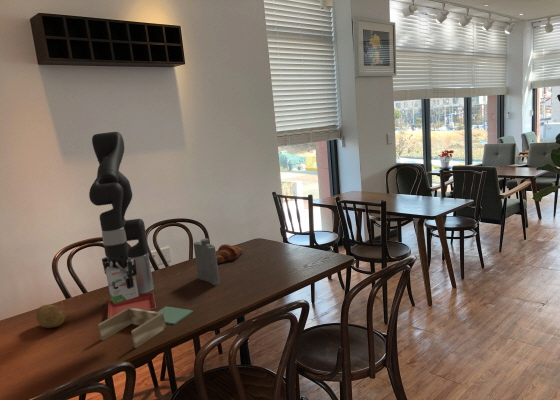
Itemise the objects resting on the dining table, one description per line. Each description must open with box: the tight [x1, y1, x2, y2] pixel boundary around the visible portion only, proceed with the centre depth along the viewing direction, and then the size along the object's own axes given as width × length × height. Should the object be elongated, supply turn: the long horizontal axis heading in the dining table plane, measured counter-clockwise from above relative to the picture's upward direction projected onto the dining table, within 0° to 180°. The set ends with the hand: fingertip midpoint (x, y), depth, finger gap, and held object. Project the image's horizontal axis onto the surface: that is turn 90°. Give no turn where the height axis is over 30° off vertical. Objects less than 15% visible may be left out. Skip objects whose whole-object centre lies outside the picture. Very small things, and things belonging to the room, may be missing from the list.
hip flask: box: [193, 238, 221, 286], centre depth 198 cm, size 16×4×20 cm, turn 41°
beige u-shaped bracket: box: [97, 307, 167, 349], centre depth 154 cm, size 17×14×6 cm
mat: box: [157, 305, 194, 326], centre depth 167 cm, size 14×11×1 cm
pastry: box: [216, 243, 243, 265], centre depth 230 cm, size 17×15×8 cm
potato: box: [35, 303, 67, 329], centre depth 167 cm, size 10×14×8 cm
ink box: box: [104, 266, 140, 304], centre depth 150 cm, size 8×5×12 cm, turn 125°
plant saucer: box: [107, 292, 157, 319], centre depth 175 cm, size 18×18×3 cm
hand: (123, 286), depth 150 cm, fingers closed on ink box, 6 cm apart
